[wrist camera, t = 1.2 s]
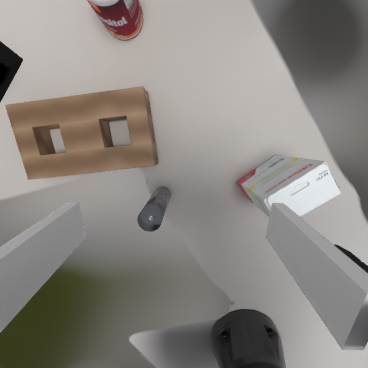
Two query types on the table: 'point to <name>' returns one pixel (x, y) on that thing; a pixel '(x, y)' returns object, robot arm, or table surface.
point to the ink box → (290, 184)
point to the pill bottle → (119, 16)
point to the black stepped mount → (7, 67)
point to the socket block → (83, 133)
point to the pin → (154, 210)
